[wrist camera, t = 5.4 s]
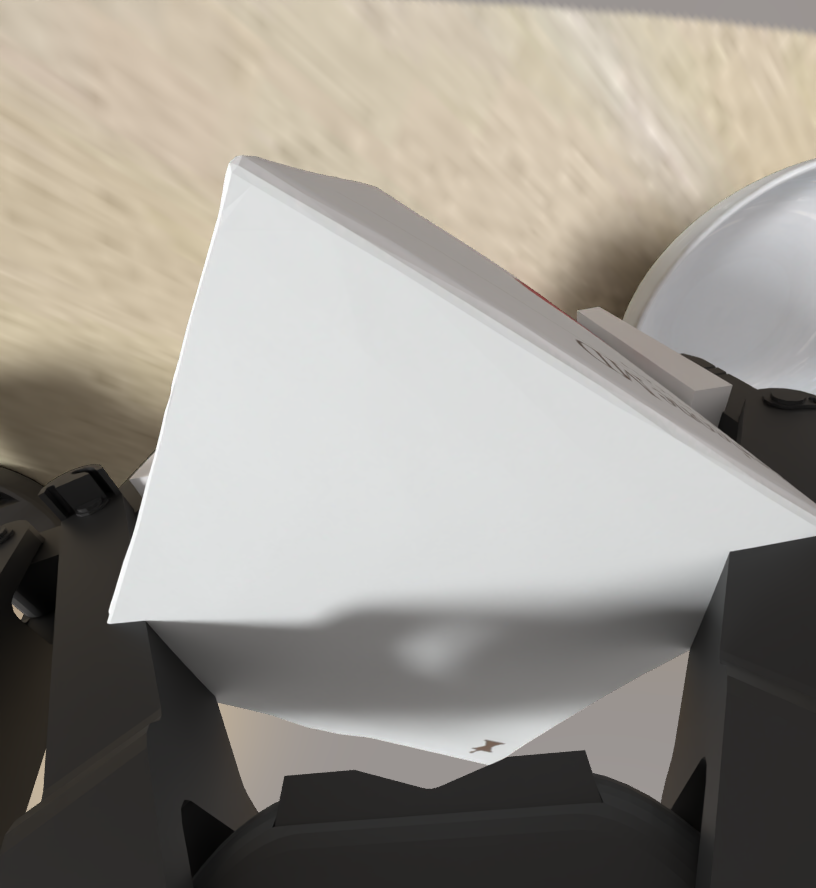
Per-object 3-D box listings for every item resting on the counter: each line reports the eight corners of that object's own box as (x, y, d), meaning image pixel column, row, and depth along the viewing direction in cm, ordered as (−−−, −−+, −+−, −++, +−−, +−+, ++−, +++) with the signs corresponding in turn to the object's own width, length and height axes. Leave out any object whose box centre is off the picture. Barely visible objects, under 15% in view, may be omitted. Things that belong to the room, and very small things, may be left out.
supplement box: (547, 295, 18) (907, 554, 5) (440, 440, 22) (494, 778, 9) (368, 174, 15) (208, 94, 3) (286, 364, 19) (73, 690, 7)
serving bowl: (571, 430, 38) (599, 473, 32) (617, 170, 27) (673, 165, 21) (792, 416, 37) (862, 457, 31) (939, 139, 26) (1092, 125, 20)
